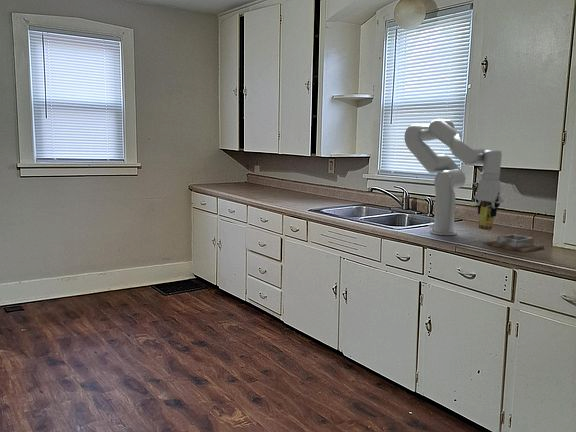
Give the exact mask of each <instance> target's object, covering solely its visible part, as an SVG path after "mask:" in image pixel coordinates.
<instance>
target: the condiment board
mask: <svg viewBox="0 0 576 432" xmlns="http://www.w3.org/2000/svg"><path fill="white" fill-rule="evenodd" d="M486 245H487V246H490V245H491V246H492V247H495V246H496V247H495V248H500V247H501V249H504V250H505V249H506V250H510V251H514V250H516V251H515V252H519V251H520V252H521V253H528V252H531V251H537V250H542V249H545V246H544V245H542V244H537V243H535V237H531V236H525V235H519V234H514V233H512V234H506V235H500V236H497V240H493V241H488V242H487V243H486Z"/></svg>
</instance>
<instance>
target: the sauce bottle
mask: <svg viewBox="0 0 576 432" xmlns="http://www.w3.org/2000/svg"><path fill="white" fill-rule="evenodd" d="M491 208H493V207H492V203H491V202H486V201H482V202H481V208H480V214H479V217H478V228H479V229H480V230H485V231H486V230H488V231H490V230H492V229H493V226H494V217H491Z"/></svg>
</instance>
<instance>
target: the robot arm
mask: <svg viewBox="0 0 576 432" xmlns="http://www.w3.org/2000/svg"><path fill="white" fill-rule="evenodd" d="M462 138H463V135H462V133H461V132H460V131H459V130H457V129H455V124H454V122H453V121H451V120H450V119H446V118H445V119H444V118H436V119H433V120H432V121H430V123H427V124H423V123H422V124H421V123H420V124H419V123H416V124H411V125H409V126H408V127H407V128H406V129H405V131H404V143H405V145H406V148H407V150H409V152H411V154H412V155H413V156H414V157H415V159H417V161H418V162H419V163H420V164H421V166H422V167H423V168H424V169H425V170H426V172H428V173H429V174H435V177H434V188H435V189H434V190H435V191H434V192H435V197H434V198H435V199H434V200H435V202H434V203H435V204H434V221H433V222H430V223H429V224H428V227H429V228H432V229H431V230H430V234H433V235H435V236H436V235H438V236H456V235H457V234H458V232H457V230H454V229H455V225H454V224H455V215H456V214H455V212H456V209H455V208H456V192H455V189H459V188H460V189H461V188H462V187H463V186H464V185H465V183H466V181H467V180H466V175H465V173H464V171H463V170H462V169H461V168H460V167H459V166H458V164H457V163H456V162H455V161H454V160H453V159H452V158H451V157H450V156H449V155H447V154H443V153H442V154H437V153H436V152H435V151H434V150H433V148H431V147H430V146H429V145H428V144H427V143H426V142H429V141H434V140H439V141H440V142H441V143H442V144H444V145H445V146H447V147H448V148H449V150H450V151H451V153H452V155H453V156H454V157H456V158H457V159H458V160H460V161H461V162H463V163H464V164H466V165H467V166H468V165H469V166H474V165H476V166H479V165H482V172H481V173H480V177H481V178H480V179H479V181H478V185H477V190H476V194H475V195H474V196H473V199H474V200H475V203H476V205H477V206H478V207H477V215H480V208H481V202H482V201H486V202H491V203H492V207H493V208H491V217H497V212H498V208H499V207H500V206H501V205H502V204H503V203H504V202H505V200H504V199H503V198H502V196H501V194H502V193H501V191H502V189H501V186H502V185H501V180H500V175H501V167H502V166H501V165H502V155H503V154H502V151H501V150H498V149H485V148H476V147H475V148H472V147H470V146H469V145H467V144H466V143H464V142H463V141H462ZM425 141H426V142H425Z"/></svg>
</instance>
